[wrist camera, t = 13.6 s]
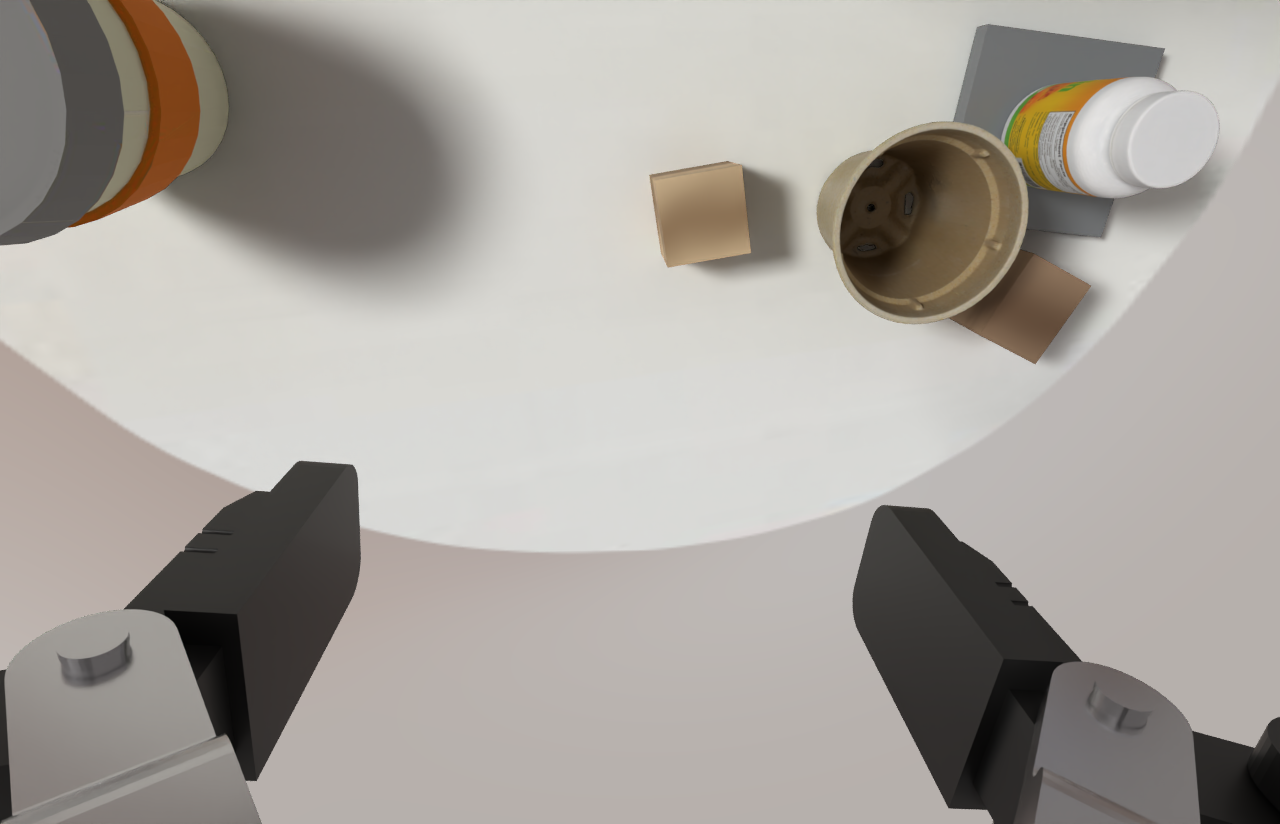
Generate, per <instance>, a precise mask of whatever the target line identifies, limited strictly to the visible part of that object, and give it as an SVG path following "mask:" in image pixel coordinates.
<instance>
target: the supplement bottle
mask: <svg viewBox="0 0 1280 824" xmlns="http://www.w3.org/2000/svg"><path fill="white" fill-rule="evenodd" d="M1219 130H1220V123H1219V117H1218V113H1217V111H1216V109H1215V107H1214V105H1213V104H1212V102H1211V101H1210V100H1209V99H1208V98H1206V97H1205V96H1203V95H1201V94H1199V93H1196V92H1192V91H1177V90H1176V89H1175V88H1174V87H1173V86H1171V85H1170V84H1168V83H1167V82H1165V81H1162V80H1160V79H1156V78H1152V77H1125V78H1114V79H1102V80H1091V81H1081V82H1071V83H1060V84H1053V85H1048V86H1045V87H1042V88H1040V89H1038V90H1036V91H1034V92H1032V93H1031V94H1029V95H1028V96H1026V97H1025V98H1024V99H1023V100H1022V101H1021V102H1020V103H1019V104H1018V105H1017V106H1016V107H1015V108H1014V110H1013V111H1012V113H1011V114H1010V116H1009V118H1008V119H1007V122H1006V124H1005V127H1004V130H1003V133H1002V137H1001V141H1002V142H1003V143H1004V144H1005V145H1006V146H1007V147H1008V149H1010V151H1011V152H1012V153H1013V154H1014V156H1015V157H1016V160H1017V161H1018V163H1019V165H1020V168H1021V170H1022V174H1023V176H1024V179H1025V182H1026V185H1027V186H1029V187H1033V188H1037V189H1044V190H1051V191H1059V192H1066V193H1073V194H1080V195H1087V196H1093V197H1102V198H1124V197H1129V196H1133V195H1136V194H1139V193H1141V192H1143V191H1146V190H1147V189H1149V188H1158V189H1162V188H1170V187H1174V186H1177V185H1179V184H1181V183H1184V182H1185V181H1187V180H1189V179H1190V178H1192V177H1193V176H1194V175H1196V174H1197V173H1198V172H1199V171H1200V170H1201V169H1202V168H1203V167H1204V166H1205V164H1206V163H1207V161H1208V160H1209V159H1210V157H1211V155H1212V153H1213V151H1214V149H1215V147H1216V144H1217V141H1218V137H1219Z"/></svg>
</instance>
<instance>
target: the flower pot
mask: <svg viewBox="0 0 1280 824" xmlns="http://www.w3.org/2000/svg"><path fill="white" fill-rule="evenodd" d="M876 159H880V160H882V161H883V165H882V166H881V167H868V166H869V165H870V164H871V163H872V162H873V161H874V160H876ZM908 193H911V194H912V195H913V198H914V200H913V204H912V207H911V209H912V210H911V212H910V214H909V215H907V214H905V212H904V210H905V198H906V197H905V195H906V194H908ZM870 204H873V205H874V206H875V209H874V210H873V211H872V212H870V211H868V209H867V207H868V206H869V205H870ZM1028 208H1029V200H1028V191H1027V185H1026V182H1025V179H1024V176H1023V174H1022V170H1021V168H1020V165H1019V163H1018V161H1017V160H1016V157H1015V156H1014V154H1013V153H1012V152H1011V151H1010V149H1008V147H1007V146H1006V145H1005V144H1004V143H1003V142H1002V141H1001V140H1000V139H998V138H997V137H996V136H994V135H993V134H991V133H989V132H988V131H986V130H984V129H982V128H980V127H977V126H974V125H970V124H966V123H960V122H932V123H927V124H922V125H919V126H915V127H912V128H909V129H907V130H904V131H902V132H900V133H898V134H896V135H894V136H892V137H891V138H889V139H888V140H886V141H885V142H883V143H882V144H880V145H879V146H878V147H876V148H875V149H874V150H873V151H867V152H863V153H860V154H857V155H855V156H852V157H850V158H848V159H847V160H845V161H844V162H843V163H842V164H841V165H839V166H838V167H837V168H836V169H835V170H834V172H833V173H832V174H831V175H830V176H829V178H828V179H827V180H826V182H825V183H824V185H823V187H822V190H821V193H820V195H819V199H818V204H817V221H818V226H819V230H820V233H821V235H822V237H823V239H824V240H825V242H826V243H827V245H828V246H829V248H830V249H831V250H832V251H833V254H834V259H835V263H836V267H837V270H838V272H839V275H840V277H841V279H842V281H843V283H844V285H845V287H846V288H847V290H848V291H849V293H850V294H851V295H852V296H853V297H854V299H855V300H856V301H857V302H858V303H859V304H861V305H862V306H863V307H864V308H866V309H867V310H869V311H870V312H872V313H873V314H875V315H877V316H879V317H881V318H884V319H887V320H890V321H893V322H897V323H904V324H926V323H930V322H936V321H939V320H944V319H947V318H949V317H952V316H955V315H957V314H959V313H961V312H963V311H965V310H966V309H968V308H970V307H972V306H973V305H975V304H976V303H977V302H979V301H980V300H982V298H983V297H985V296H986V295H987V294H988V293H990V292H991V291H992V290H993V289H994V288H995V287H996V285H997V284H998V283H999V282H1000V281H1001V279H1002V278H1003V277H1004V276H1005V274H1006V273H1007V271H1008V270H1009V268H1010V267H1011V265H1012V263H1013V262H1014V260H1015V259H1016V256H1017V254H1018V252H1019V250H1020V247H1021V245H1022V242H1023V239H1024V236H1025V232H1026V227H1027V223H1028ZM867 243H868V244H867ZM866 244H867V245H875V246H876V249H873V250H867V251H861V250H859V249H858V246H864V245H866Z"/></svg>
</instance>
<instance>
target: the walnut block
mask: <svg viewBox="0 0 1280 824" xmlns="http://www.w3.org/2000/svg"><path fill="white" fill-rule="evenodd" d="M1090 287H1091V285H1089V284H1087V283H1085V282H1084V281H1082V280H1080V279H1078V278H1076V277H1075V276H1073V275H1071V274H1069V273H1068V272H1066V271H1064V270H1062V269H1060V268H1059V267H1057V266H1055V265H1053V264H1052V263H1050V262H1048V261H1046V260H1045V259H1043V258H1041V257H1039V256H1037V255H1036V254H1033V253H1030V252H1027V251H1023V250H1019V252H1018V254H1017V256H1016V259H1015V260H1014V262H1013V263H1012V265H1011V267H1010V268H1009V270H1008V271H1007V273H1006V274H1005V276H1004V277H1003V278H1002V279H1001V281H1000V282H999V283H998V284H997V285H996V287H995V288H994V289H993V290H992V291H991V292H990V293H988V294H987V295H986V296H985V297H983V298H982V300H980V301H979V302H977V303H976V304H975V305H973V306H972V307H970V308H968V309H966V310H965V311H963V312H961V313H959V314H957V315H955V316H952V317H949V318H950V319H951V320H953V321H955V322H957V323H959V324H960V325H962V326H964V327H966V328H968V329H969V330H971V331H973V332H975V333H977V334H978V335H980V336H982V337H984V338H986V339H988V340H990V341H992V342H994V343H996V344H998V345H999V346H1001V347H1003V348H1005V349H1007V350H1009V351H1011V352H1013V353H1015V354H1017V355H1019V356H1021V357H1022V358H1024V359H1026V360H1028V361H1030V362H1032V363H1034V364H1036V363H1037V361H1038V360H1039V358H1040V357H1041V356H1042V354H1043V353H1044V351H1045V350H1046V349H1047V347H1048V346H1049V344H1050V343H1051V342H1052V340H1053V339H1054V337H1055V336H1056V335H1057V333H1058V332H1059V330H1060V329H1061V328H1062V326H1063V325H1064V323H1065V322H1066V321H1067V319H1068V318H1069V316H1070V315H1071V314H1072V312H1073V311H1074V309H1075V308H1076V307H1077V305H1078V304H1079V302H1080V301H1081V300H1082V298H1083V297H1084V295H1085V294H1086V293H1087V291H1088V290H1089V288H1090Z"/></svg>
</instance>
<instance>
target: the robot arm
mask: <svg viewBox="0 0 1280 824" xmlns="http://www.w3.org/2000/svg"><path fill="white" fill-rule="evenodd" d="M360 555H361V552H360V525H359V499H358V478H357V473H356V469H355V467H354V466H353V465H350V464H336V463H323V462H309V461H299V462H297V463H296V464H295V465H294V466H293V467H292V468H291V469H290V470H289V471H288V472H287V474H286V475H285V476H284V477H283V478H282V479H281V480H280V481H279V482H278V484H277V485H276V486H275V487H274V488H273V489H272V490H271V491H270V492H264V491H255V492H253V493H251V494H249V495H247V496H245V497H243V498H242V499H240V500H238V501H236V502H234V503H232V504H230V505H228V506H226V507H224V508H223V509H222V510H221V511H220V512H219V513H218V514H217V515H216V516H215V517H214V518H213V519H212V520H211V521H210V522H209V523H208V524H207V525H206V526H205V527H204V528H203V531H202V533H198V534H197V535H196V536H195V537H194V538H193V539H192V540H191V541H190V542H189V543H188V544H187V545H186V546H185V551H184V552H179V554H178V555H177V556H176V557H175V558H174V559H173V560H172V561H171V562H170V563H169V564H168V565H167V566H166V567H165V568H164V569H163V570H162V571H161V572H160V573H159V574H158V575H157V576H156V577H155V578H154V579H153V580H152V581H151V582H150V583H149V584H148V585H147V586H146V587H145V588H144V589H143V590H142V591H141V592H140V593H139V594H138V595H137V596H136V597H135V599H133V600H132V601H131V602H130V604H128V605H127V607H125V608H124V609H123V610H113V611H107V612H101V613H97V614H92V615H88V616H85V617H81V618H78V619H75V620H72V621H70V622H67V623H65V624H63V625H60V626H58V627H56V628H54V629H52V630H50V631H48V632H46V633H44V634H42V635H41V636H39V637H37V638H36V639H35V640H33V641H32V642H30V643H29V644H28V645H26V646H25V647H24V648H23V649H22V650H21V651H20V652H19V653H18V654H17V655H16V656H15V657H14V658H13V660H12V661H11V662H10V664H9V666H8V668H7V669H6V670H1V671H0V824H262V823H261V820H260V818H259V815H258V812H257V810H256V807H255V804H254V802H253V799H252V796H251V794H250V791H249V789H248V786H247V783H246V781H257V779H258V777H259V775H260V773H261V771H262V769H263V767H264V766H265V764H266V762H267V760H268V758H269V756H270V754H271V752H272V750H273V748H274V746H275V744H276V743H277V741H278V739H279V737H280V735H281V733H282V731H283V729H284V727H285V725H286V723H287V721H288V719H289V718H290V716H291V714H292V712H293V710H294V708H295V706H296V704H297V703H298V701H299V699H300V697H301V695H302V693H303V691H304V689H305V687H306V685H307V683H308V682H309V680H310V678H311V676H312V674H313V672H314V670H315V668H316V666H317V664H318V662H319V661H320V659H321V657H322V655H323V652H324V651H325V649H326V647H327V645H328V643H329V641H330V640H331V638H332V636H333V634H334V632H335V630H336V628H337V626H338V624H339V622H340V620H341V619H342V617H343V615H344V613H345V611H346V609H347V607H348V605H349V603H350V601H351V599H352V597H353V595H354V592H355V589H356V586H357V582H358V577H359V571H360V560H361V556H360ZM853 615H854V620H855V624H856V627H857V629H858V631H859V633H860V635H861V637H862V639H863V641H864V643H865V645H866V647H867V649H868V651H869V653H870V655H871V657H872V659H873V661H874V662H875V665H876V667H877V669H878V671H879V673H880V674H881V676H882V678H883V680H884V682H885V684H886V686H887V688H888V690H889V692H890V694H891V696H892V698H893V700H894V702H895V704H896V706H897V708H898V710H899V712H900V714H901V716H902V718H903V720H904V721H905V723H906V726H907V727H908V729H909V731H910V733H911V735H912V737H913V739H914V741H915V743H916V745H917V747H918V749H919V751H920V753H921V755H922V757H923V759H924V761H925V763H926V764H927V767H928V769H929V770H930V772H931V774H932V776H933V778H934V780H935V782H936V784H937V786H938V788H939V790H940V792H941V794H942V796H943V798H944V800H945V802H946V804H947V806H948V808H953V809H982V810H988V812H989V813H990V815H991V817H992V819H993V823H992V824H1280V717H1278V718H1276V719H1273V720H1272V721H1271V722H1270V723H1269V724H1268V726H1267V727H1266V729H1265V731H1264V733H1263V735H1262V736H1261V738H1260V740H1259V742H1258V744H1257V745H1256V747H1255V748H1253V747H1249V746H1246V745H1242V744H1238V743H1234V742H1231V741H1227V740H1224V739H1220V738H1216V737H1212V736H1208V735H1205V734H1202V733H1198V732H1194V731H1192V729H1191V727H1190V725H1189V723H1188V721H1187V719H1186V718H1185V717H1184V715H1183V714H1182V713H1181V712H1180V711H1179V710H1178V709H1177V707H1176V706H1175V705H1173V703H1171V702H1170V701H1169V700H1168V699H1167V698H1166V697H1164V696H1163V695H1162V694H1160V693H1159V692H1158V691H1156V690H1155V689H1153V688H1152V687H1150V686H1148V685H1147V684H1145V683H1144V682H1142V681H1140V680H1138V679H1136V678H1134V677H1132V676H1130V675H1128V674H1126V673H1123V672H1121V671H1118V670H1116V669H1113V668H1110V667H1107V666H1103V665H1099V664H1094V663H1089V662H1082V661H1081V660H1080V659H1079V657H1078V656H1077V655H1076V654H1075V653H1074V652H1073V651H1072V650H1071V649H1070V647H1069V646H1068V645H1067V644H1066V643H1065V642H1064V641H1063V640H1062V639H1061V637H1060V636H1059V635H1058V634H1057V633H1056V632H1055V631H1054V630H1053V628H1052V627H1051V626H1050V625H1049V624H1048V623H1047V622H1046V621H1045V620H1044V619H1043V617H1042V616H1041V615H1040V614H1039V613H1038V612H1037V611H1036V610H1035V608H1034V607H1033V606H1028V601H1027V600H1026V598H1025V597H1024V596H1023V595H1022V594H1021V593H1020V592H1019V591H1018V590H1017V588H1014V587H1012V583H1011V582H1010V581H1009V580H1008V578H1007V577H1006V576H1005V575H1004V574H1003V573H1002V572H1001V571H1000V569H999V568H998V567H997V566H996V565H995V564H994V563H993V562H992V561H991V560H989V559H988V558H986V557H985V556H983V555H982V554H980V553H979V552H977V551H976V550H974V549H973V548H971V547H970V546H968V545H967V544H965V543H964V542H960V541H959V540H958V539H957V538H956V537H955V536H954V534H953V533H952V532H951V531H950V530H949V529H948V527H947V526H946V525H945V524H944V523H943V522H942V520H941V519H940V518H939V517H938V516H937V515H936V514H935V512H933V511H932V510H931V509H927V508H915V507H901V506H888V505H882V506H880V507H879V508H878V509H877V510H876V511H875V513H874V515H873V518H872V521H871V525H870V528H869V533H868V536H867V540H866V544H865V548H864V551H863V556H862V559H861V563H860V567H859V571H858V574H857V578H856V582H855V586H854V592H853Z"/></svg>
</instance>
